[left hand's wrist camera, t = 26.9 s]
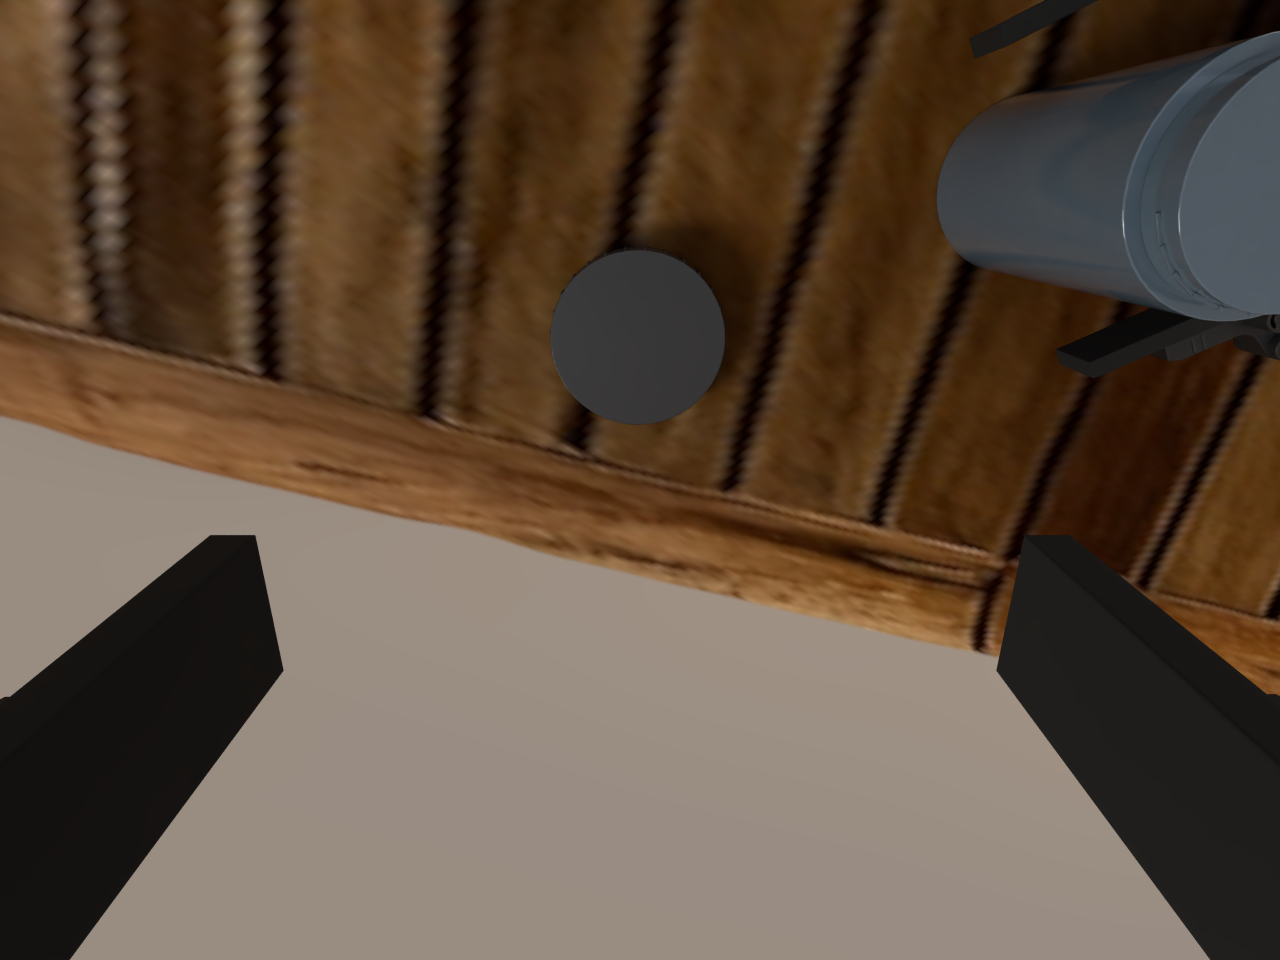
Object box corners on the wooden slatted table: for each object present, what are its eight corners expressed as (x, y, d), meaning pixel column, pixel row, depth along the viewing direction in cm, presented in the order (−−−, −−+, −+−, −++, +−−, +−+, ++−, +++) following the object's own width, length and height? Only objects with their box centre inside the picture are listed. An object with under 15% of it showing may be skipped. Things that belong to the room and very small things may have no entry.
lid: (532, 271, 38) (526, 275, 36) (701, 225, 37) (704, 227, 35) (580, 431, 41) (577, 443, 39) (738, 392, 40) (742, 402, 38)
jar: (1067, 284, 38) (1371, 352, 22) (915, 256, 37) (1114, 306, 22) (1132, 110, 35) (1534, 46, 19) (967, 77, 34) (1242, -16, 19)
